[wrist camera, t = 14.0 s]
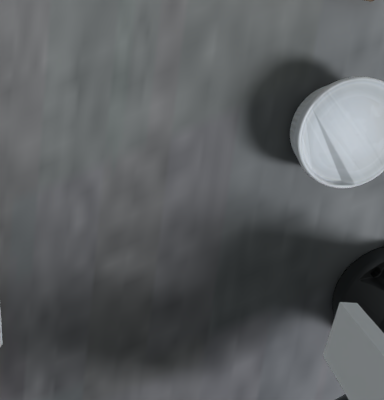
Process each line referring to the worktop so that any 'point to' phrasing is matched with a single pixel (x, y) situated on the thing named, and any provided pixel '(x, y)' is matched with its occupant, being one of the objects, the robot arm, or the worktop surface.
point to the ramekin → (341, 132)
